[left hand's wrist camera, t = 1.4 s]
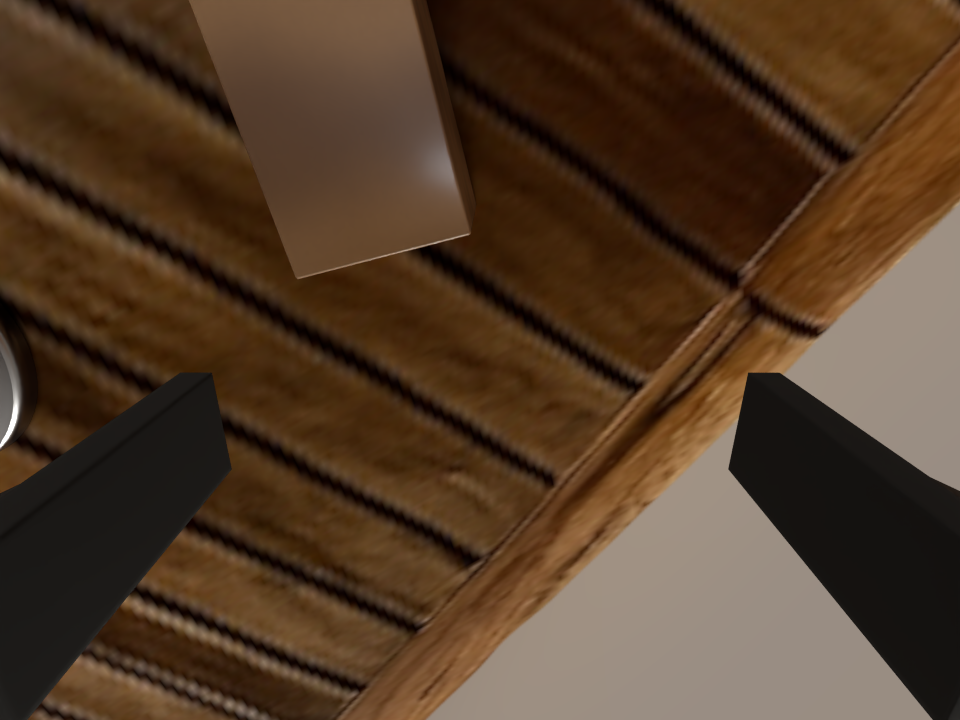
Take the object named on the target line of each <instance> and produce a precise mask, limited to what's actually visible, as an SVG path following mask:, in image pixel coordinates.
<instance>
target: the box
mask: <svg viewBox="0 0 960 720" xmlns="http://www.w3.org/2000/svg"><path fill="white" fill-rule="evenodd" d="M189 2H190V4H191V7H192V9H193V12H194V15H195V17H196V20H197V22H198V25H199V28H200V30H201V33H202V35H203V38H204V41H205V43H206V46H207V48H208V51H209V53H210V56H211V59H212V61H213V64H214V66H215V69H216V72H217V74H218V77H219V79H220V82H221V85H222V87H223V90H224V92H225V95H226V98H227V100H228V103H229V105H230V108H231V111H232V113H233V116H234V118H235V121H236V124H237V126H238V129H239V131H240V134H241V137H242V139H243V142H244V144H245V147H246V150H247V152H248V155H249V157H250V160H251V163H252V165H253V168H254V170H255V173H256V176H257V178H258V181H259V183H260V186H261V189H262V191H263V194H264V196H265V199H266V202H267V204H268V207H269V209H270V212H271V215H272V217H273V220H274V222H275V225H276V228H277V230H278V233H279V235H280V238H281V241H282V243H283V246H284V248H285V251H286V253H287V256H288V259H289V261H290V264H291V266H292V269H293V272H294V274H295V277H296V278H297V279H300V278H304V277H308V276H312V275H316V274H320V273H324V272H328V271H331V270H335V269H339V268H343V267H347V266H351V265H355V264H359V263H363V262H366V261H370V260H374V259H378V258H382V257H386V256H390V255H394V254H397V253H401V252H405V251H409V250H413V249H417V248H421V247H425V246H428V245H432V244H436V243H440V242H444V241H448V240H452V239H456V238H460V237H463V236H467V235H470V234H471V229H472V224H473V219H474V213H475V208H476V201H475V197H474V193H473V189H472V185H471V181H470V177H469V173H468V168H467V164H466V160H465V156H464V152H463V148H462V144H461V140H460V136H459V132H458V128H457V123H456V119H455V115H454V111H453V107H452V103H451V99H450V95H449V91H448V87H447V82H446V78H445V74H444V70H443V66H442V62H441V58H440V54H439V50H438V46H437V42H436V37H435V33H434V29H433V25H432V21H431V17H430V13H429V9H428V5H427V1H426V0H189Z"/></svg>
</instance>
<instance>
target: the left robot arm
mask: <svg viewBox="0 0 960 720" xmlns="http://www.w3.org/2000/svg"><path fill="white" fill-rule="evenodd" d="M37 394H38V385H37V375H36V369H35V365H34V361H33V358H32V355H31V352H30V349H29V347H28V345H27V343H26V340H25V338H24V336H23V335H22V333H21V331H20V329H19V327H18V326H17V324H16V323H15V321H14V320H13V318H12V317H11V315H10V314H9V313H8V311H7V310H6V309H5V307H4V306H3V305H2V304H1V303H0V451H1V450H3V449H4V448H6V447H8V446H9V445H11V444H12V443H13V442H15V441H16V440H17V439H18V438H19V437H20V436H21V435H22V433H23V432H24V431H25V429H26V428H27V426H28V425H29V423H30V421H31V419H32V416H33V414H34V411H35V407H36V403H37ZM230 471H231V464H230V459H229V454H228V449H227V444H226V439H225V435H224V430H223V425H222V420H221V415H220V410H219V405H218V401H217V396H216V391H215V386H214V381H213V376H212V373H179V374H178V375H177V376H175V377H174V378H172V379H171V380H169V381H168V382H166V383H165V384H164V385H162V386H161V387H159V388H158V389H156V390H155V391H153V392H152V393H151V394H149V395H148V396H146V397H145V398H143V399H142V400H141V401H139V402H138V403H136V404H135V405H133V406H132V407H130V408H129V409H128V410H126V411H125V412H123V413H122V414H120V415H119V416H117V417H116V418H115V419H113V420H112V421H110V422H109V423H107V424H106V425H105V426H103V427H102V428H100V429H99V430H97V431H96V432H94V433H93V434H92V435H90V436H89V437H87V438H86V439H84V440H83V441H81V442H80V443H79V444H77V445H76V446H74V447H73V448H71V449H70V450H69V451H67V452H66V453H64V454H63V455H61V456H60V457H58V458H57V459H56V460H54V461H53V462H51V463H50V464H48V465H47V466H45V467H44V468H43V469H41V470H40V471H38V472H37V473H35V474H34V475H33V476H31V477H30V478H28V479H27V480H25V481H24V482H22V483H21V484H19V485H17V486H15V487H13V488H11V489H9V490H6V491H4V492H2V493H0V720H27V719H28V718H29V717H30V716H31V714H32V713H33V712H34V711H35V710H36V708H37V707H38V706H39V705H40V703H41V702H42V701H43V700H44V699H45V697H46V696H47V695H48V694H49V692H50V691H51V690H52V689H53V688H54V686H55V685H56V684H57V683H58V681H59V680H60V679H61V678H62V676H63V675H64V674H65V673H66V672H67V670H68V669H69V668H70V667H71V665H72V664H73V663H74V662H75V661H76V659H77V658H78V657H79V656H80V654H81V653H82V652H83V651H84V650H85V648H86V647H87V646H88V645H89V643H90V642H91V641H92V640H93V638H94V637H95V636H96V635H97V634H98V632H99V631H100V630H101V629H102V627H103V626H104V625H105V624H106V623H107V621H108V620H109V619H110V618H111V616H112V615H113V614H114V613H115V612H116V610H117V609H118V608H119V607H120V605H121V604H122V603H123V602H124V600H125V599H126V598H127V597H128V596H129V594H130V593H131V592H132V591H133V589H134V588H135V587H136V586H137V585H138V583H139V582H140V581H141V580H142V578H143V577H144V576H145V575H146V574H147V572H148V571H149V570H150V569H151V567H152V566H153V565H154V564H155V562H156V561H157V560H158V559H159V558H160V556H161V555H162V554H163V553H164V551H165V550H166V549H167V548H168V547H169V545H170V544H171V543H172V542H173V540H174V539H175V538H176V537H177V536H178V534H179V533H180V532H181V531H182V529H183V528H184V527H185V526H186V524H187V523H188V522H189V521H190V520H191V518H192V517H193V516H194V515H195V513H196V512H197V511H198V510H199V509H200V507H201V506H202V505H203V504H204V502H205V501H206V500H207V499H208V498H209V496H210V495H211V494H212V493H213V491H214V490H215V489H216V488H217V487H218V485H219V484H220V483H221V482H222V480H223V479H224V478H225V477H226V475H227V474H228V473H229V472H230ZM729 471H730V472H731V473H732V474H733V475H734V477H735V478H736V479H737V480H738V482H739V483H740V484H741V485H742V486H743V488H744V489H745V490H746V491H747V493H748V494H749V495H750V496H751V498H752V499H753V500H754V501H755V502H756V504H757V505H758V506H759V507H760V509H761V510H762V511H763V512H764V513H765V515H766V516H767V517H768V518H769V520H770V521H771V522H772V523H773V525H774V526H775V527H776V528H777V529H778V531H779V532H780V533H781V534H782V536H783V537H784V538H785V539H786V540H787V542H788V543H789V544H790V545H791V546H792V548H793V549H794V550H795V551H796V553H797V554H798V555H799V556H800V558H801V559H802V560H803V561H804V562H805V564H806V565H807V566H808V567H809V569H810V570H811V571H812V572H813V573H814V575H815V576H816V577H817V578H818V580H819V581H820V582H821V583H822V585H823V586H824V587H825V588H826V589H827V591H828V592H829V593H830V594H831V596H832V597H833V598H834V599H835V600H836V602H837V603H838V604H839V605H840V607H841V608H842V609H843V610H844V612H845V613H846V614H847V615H848V616H849V618H850V619H851V620H852V621H853V623H854V624H855V625H856V626H857V627H858V629H859V630H860V631H861V632H862V634H863V635H864V636H865V637H866V638H867V640H868V641H869V642H870V643H871V645H872V646H873V647H874V648H875V650H876V651H877V652H878V653H879V654H880V656H881V657H882V658H883V659H884V661H885V662H886V663H887V664H888V665H889V667H890V668H891V669H892V670H893V672H894V673H895V674H896V675H897V676H898V678H899V679H900V680H901V681H902V683H903V684H904V685H905V686H906V688H907V689H908V690H909V691H910V692H911V694H912V695H913V696H914V697H915V699H916V700H917V701H918V702H919V703H920V705H921V706H922V707H923V708H924V710H925V711H926V712H927V713H928V714H929V716H930V717H931V718H932V719H933V720H960V491H958V490H956V489H954V488H952V487H950V486H948V485H946V484H943V483H941V482H939V481H937V480H935V479H933V478H931V477H929V476H927V475H926V474H925V473H923V472H922V471H920V470H919V469H917V468H916V467H915V466H913V465H912V464H910V463H909V462H907V461H906V460H904V459H903V458H902V457H900V456H899V455H897V454H896V453H894V452H893V451H891V450H890V449H889V448H887V447H886V446H884V445H883V444H881V443H880V442H878V441H877V440H876V439H874V438H873V437H871V436H870V435H868V434H867V433H866V432H864V431H863V430H861V429H860V428H858V427H857V426H855V425H854V424H853V423H851V422H850V421H848V420H847V419H845V418H844V417H843V416H841V415H840V414H838V413H837V412H835V411H834V410H832V409H831V408H830V407H828V406H827V405H825V404H824V403H822V402H821V401H819V400H818V399H817V398H815V397H814V396H812V395H811V394H809V393H808V392H807V391H805V390H804V389H802V388H801V387H799V386H798V385H796V384H795V383H794V382H792V381H791V380H789V379H788V378H786V377H785V376H783V375H782V374H781V373H748V376H747V381H746V386H745V391H744V396H743V401H742V405H741V410H740V415H739V420H738V425H737V430H736V435H735V439H734V445H733V449H732V454H731V459H730V464H729Z"/></svg>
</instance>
